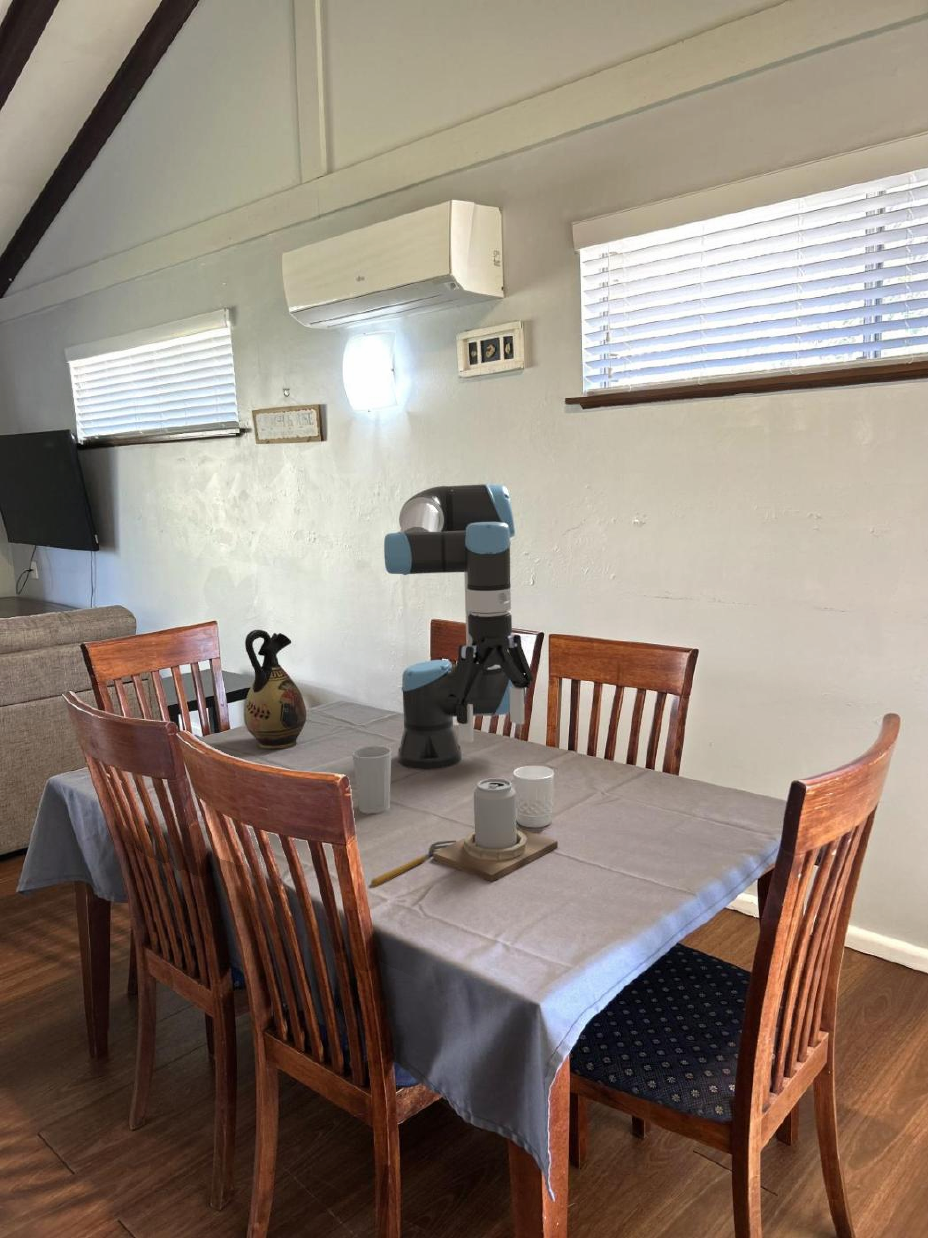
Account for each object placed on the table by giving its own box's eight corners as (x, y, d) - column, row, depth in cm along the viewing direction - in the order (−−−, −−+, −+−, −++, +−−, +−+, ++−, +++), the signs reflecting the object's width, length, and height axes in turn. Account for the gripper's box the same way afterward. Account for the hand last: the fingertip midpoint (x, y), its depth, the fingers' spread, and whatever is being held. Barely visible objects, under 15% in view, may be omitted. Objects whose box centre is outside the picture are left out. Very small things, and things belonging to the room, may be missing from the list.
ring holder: (499, 828, 177) (499, 814, 177) (557, 847, 168) (557, 833, 167) (433, 859, 164) (432, 844, 164) (492, 881, 155) (491, 866, 155)
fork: (377, 881, 154) (456, 839, 168) (369, 875, 155) (449, 834, 169) (375, 893, 155) (455, 851, 169) (368, 888, 156) (447, 846, 170)
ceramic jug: (287, 731, 246) (279, 621, 241) (319, 743, 235) (312, 627, 230) (229, 746, 235) (220, 630, 230) (260, 759, 224) (252, 637, 219)
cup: (387, 816, 185) (385, 758, 183) (349, 814, 187) (346, 757, 185) (398, 801, 193) (396, 746, 191) (361, 800, 195) (359, 745, 193)
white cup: (558, 815, 183) (558, 767, 181) (549, 831, 175) (548, 780, 174) (520, 812, 185) (519, 764, 184) (509, 826, 178) (508, 777, 176)
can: (523, 841, 168) (521, 778, 166) (507, 858, 161) (505, 792, 159) (485, 835, 171) (483, 773, 169) (468, 851, 164) (466, 787, 162)
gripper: (455, 625, 147) (459, 753, 151) (551, 604, 165) (553, 719, 169) (422, 621, 152) (427, 744, 156) (519, 601, 170) (521, 712, 174)
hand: (492, 731), depth 163 cm, fingers open, 13 cm apart
